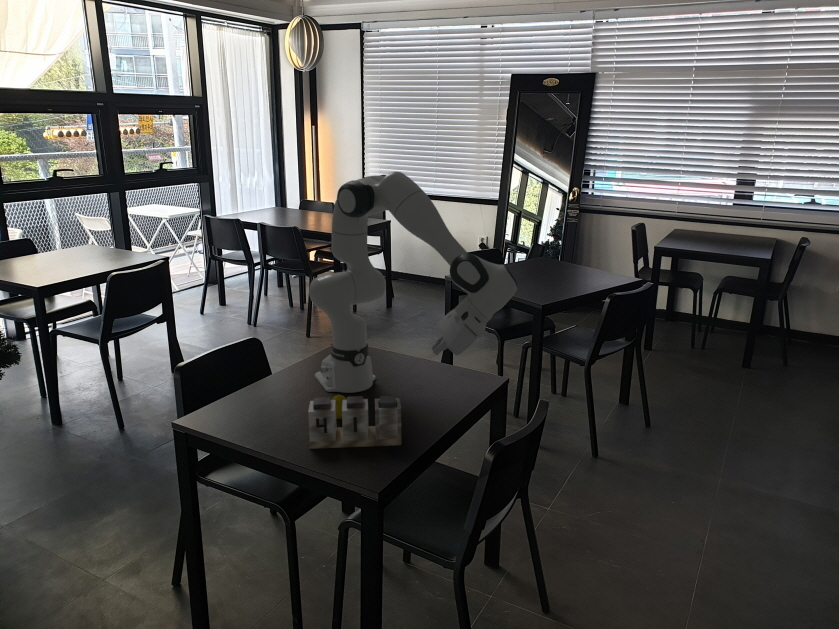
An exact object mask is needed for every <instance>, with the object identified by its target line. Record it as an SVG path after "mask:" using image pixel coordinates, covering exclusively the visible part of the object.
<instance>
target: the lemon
mask: <svg viewBox="0 0 839 629" xmlns="http://www.w3.org/2000/svg"><path fill="white" fill-rule="evenodd" d="M331 400H336V419H338V420H342V402H343V400H347V397H345V396H344V395H341V394H339V393H338V394H337V395H334V396H333V397H332V398H331Z"/></svg>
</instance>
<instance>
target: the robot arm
mask: <svg viewBox="0 0 839 629" xmlns="http://www.w3.org/2000/svg"><path fill="white" fill-rule="evenodd" d="M385 211H388V212H389V213H391V215H392V216H393V217H394V219H395V220H396V221H397V223H399V225H400V226H402V227H403V228H404V229H406V231H408V232H410V233H409V234H412V235H413V236H414V237H416V238H418V239H419V240H421V241H423V242H424V243H426V244H428V245H429V246H430V247H432V248H433V249H434V250H435V251H436V252H437V253H438V254H439V255H440V256H441V257H442V259H443V260H444V261H445V262H446V263H447V264H448V266H449V276H450V278H451V281H452V282H453V284H455V285H456V286H457V287H458V288H459V289H461V291H463V292H464V293H465V294H466V295H467V296H465V298H464V299H463V300H462V301H461V302H459V304H458V305H457V306H455V308H453V309H452V310H450V311H449V312H448V313H446V315H444V316H443V317H442V318H441V319H440V320H439V321H438V322H437V324H436V328H437V329H438V331H439V333H440V335H439V336H438V338H437V340H436V341H435V344H433V345H432V346H431V351H432V353H433V354H434V355H435V356H439V354H440V353H442V352H443V351H444V352H445V350H447V349H448V350H449V351H450V352H452V354H453V355H455V356H459V355H461V354H462V353H464V352H465V351H466V350H467V349H468V348H469V347H470V346H472V344H474V343H475V342H476V340H477V339H479V338H481V337H483V336H484V335H485V333H486V326H487V323H488V322H490V320H491V319H492V317H493V316H494V315H495V313H497V312H498V311H499V310H501V309H502V308H503V307H504V306H505V305H507V303H508V302H509V301H511V299H512V298H513V296H514V295H515V294H516V292H517V291H518V288H519V285H518V280H517V279H516V278H515V276H514V275H513V273H512V272H511V271H510V269H509V267H508V266H506V265H504V264H498V263H494V262H490V261H488V260H485V259H483V258H481V257H479V256H477V255H475V254H472V253H469V252H467V250H466V249H465V248H464V247H463V246H462V245H461V243H459V241H458V240H457V239H456V238H455V237H454V236H453V235H452V233H451V231H450V230H449V228H448V227H447V225H446V223H445V221H444V219H443V217H442V216H441V214H440V212H439V211H438V209H437V207H436V205H435V204H434V203H433V201H432V200H431V198H430V197H429V195H427V193H426V192H425V191H424V190H423V189H422V188H421V187H420V186H419V185H418V184H417V183H416V182H415V181H414V180H413V179H411V178H410V177H408V175H406V174H405V173H403V172H401V171H392V172H389V173H388V174H381V175H370V176H369V175H368V176H365V177H362V178H358V179H353V180H350V181H347V182H345V183H343V184H342V185H340V187H339V189H338V191H337V195H336V200H335V201H334V205H333V212H332V217H331V253H332V255H333V257H334V258H335V259H336V260H337V261H340V262H341V263H344V264H346V268H347V269H346V270H345V271H339V272H331V273H325V274H323V275H319V276H317V277H314V278H313V279H312V281H311V282H310V284H309V288H308V293H309V294H308V295H309V298H310V300H311V302H312V304H313V305H314V306H315V307H317V308H318V309H320V310H322V312H324V313H325V314H326V316H327V318H328V320H329V321H330V325H331V326H330V327H331V332H332V343H331V344H329V345H330V348H331V350H330V354H329V355H327V356H326V357H325V358H324V359H322V361H321V365H320V368H319V369H320V370H318V371H317V372H316V373H314V378H315V379H316V380H317V382H318V383H319V384H320V385H321V386H322V388H323V389H324V390H325V392H329V393H331V392H333V393H334V392H337V393H347V394H348V393H350V394H352V393H359V392H364V391H367V390H369V389H370V388H372V387H373V384H374V381H375V380H376V378H377V377H376V375H375V374H373V372H374V371H373V365H372V364H373V363H372V357H371V356H369V343H368V340H367V338H368V336H367V323H366V321H365V319H364V318H363V317H362V316H360V315H358V314H355V313H353V312H351V306H353V305H359V304H365V303H370V302H373V301H375V300H378V299H380V298H382V297H383V295H384V294H385V293H386V287H387V282H386V278H385V277H384V275H383V273H382V272H381V271H380V270H379V269H377V268H376V267H375V266H374V265H373V264H372V262H371V260H370V258H369V257H370V256H369V253H368V219H369V216H375V215H378V214H379V213H383V212H385Z"/></svg>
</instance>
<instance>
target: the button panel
mask: <svg viewBox="0 0 839 629" xmlns="http://www.w3.org/2000/svg"><path fill="white" fill-rule="evenodd" d="M395 398H396V407H391V408H380V398H374V414H375V415H374V417H375V418H374V422H375V425H370V426H369V400H368V399H369V398H364V396H361V395H359V396H347V397H346V399H347V400H343V402H342V418H341V420H342V422H341V423H342V427H341V426H340V427H339V426H338V425H337V418H336V400H332V399H331V397H330V396H328V397H327V396H326V397H314V398H313V400H310V401H309V406H308V410H307V415H308V433H309V449H311V450H312V449H337V448H360V447H362V448H363V447H387V446H388V447H389V446H390V445H391V446H403V445H402V444H403V443H402V406H401V398H400V397H395ZM337 426H338V427H337ZM391 446H390V447H391Z"/></svg>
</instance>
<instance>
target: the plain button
mask: <svg viewBox="0 0 839 629" xmlns="http://www.w3.org/2000/svg"><path fill="white" fill-rule="evenodd" d="M396 398H397V397H396V395H380V396H379V399H380V408H391V407H396Z"/></svg>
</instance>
